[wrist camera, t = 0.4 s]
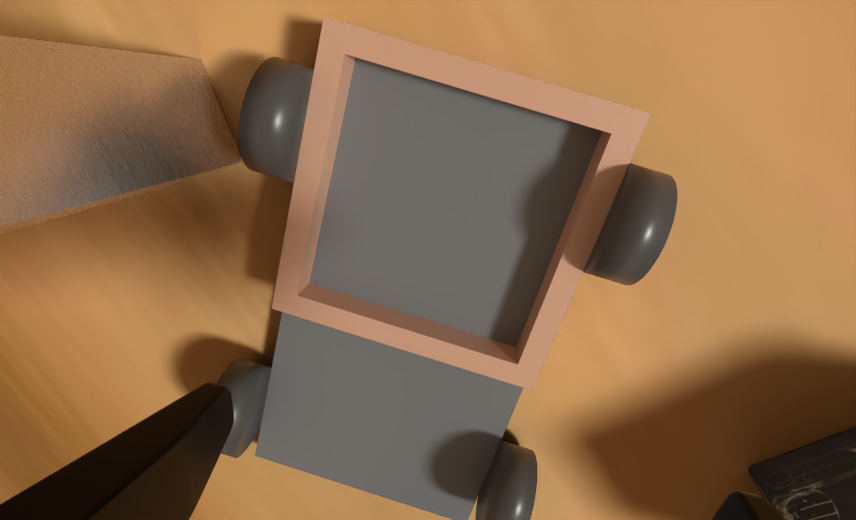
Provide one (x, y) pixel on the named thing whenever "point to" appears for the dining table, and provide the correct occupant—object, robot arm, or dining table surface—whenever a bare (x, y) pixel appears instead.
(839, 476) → the box
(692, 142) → the dining table surface
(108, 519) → the robot arm
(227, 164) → the block
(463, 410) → the chassis
